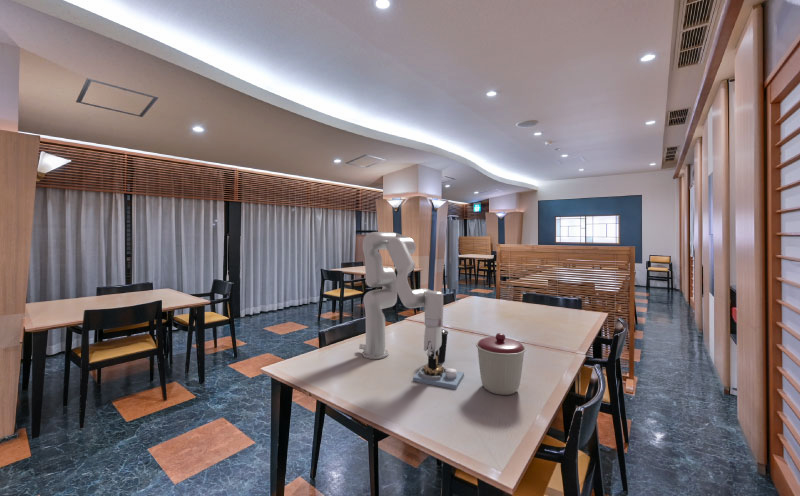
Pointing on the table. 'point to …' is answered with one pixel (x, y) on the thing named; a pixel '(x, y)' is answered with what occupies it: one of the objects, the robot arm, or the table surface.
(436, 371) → the bronze gear
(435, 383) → the carrier plate
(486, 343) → the canister
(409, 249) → the robot arm
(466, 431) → the table surface
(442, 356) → the drinking cup
